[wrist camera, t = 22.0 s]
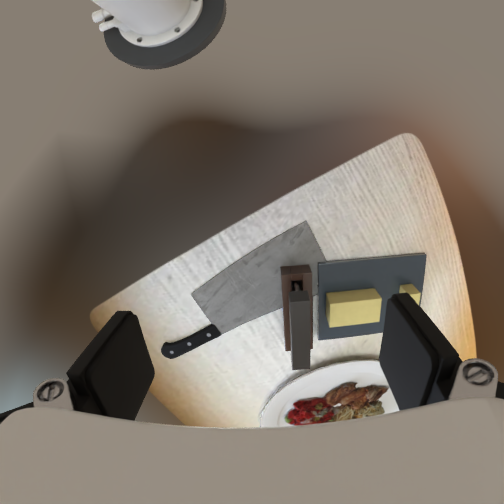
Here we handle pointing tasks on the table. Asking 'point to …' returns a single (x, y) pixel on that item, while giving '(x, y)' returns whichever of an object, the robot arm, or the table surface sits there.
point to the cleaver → (250, 286)
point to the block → (286, 277)
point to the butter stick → (353, 307)
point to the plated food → (331, 396)
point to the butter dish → (366, 286)
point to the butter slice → (411, 291)
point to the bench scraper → (300, 328)
